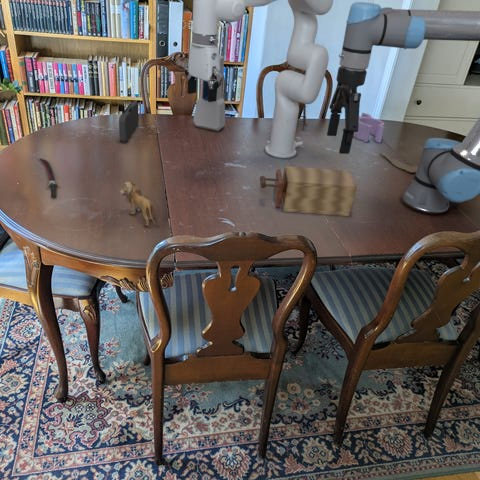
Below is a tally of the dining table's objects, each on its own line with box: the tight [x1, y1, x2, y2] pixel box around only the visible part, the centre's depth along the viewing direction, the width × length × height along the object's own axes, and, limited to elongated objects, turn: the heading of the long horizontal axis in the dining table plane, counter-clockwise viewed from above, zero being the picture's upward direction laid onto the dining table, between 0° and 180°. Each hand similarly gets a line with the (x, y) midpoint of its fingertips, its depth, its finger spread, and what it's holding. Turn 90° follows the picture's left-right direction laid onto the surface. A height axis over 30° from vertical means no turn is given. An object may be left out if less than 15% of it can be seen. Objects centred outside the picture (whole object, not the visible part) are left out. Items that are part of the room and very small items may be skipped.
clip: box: [353, 112, 386, 143], centre depth 214 cm, size 20×12×7 cm, turn 11°
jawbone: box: [380, 152, 419, 174], centre depth 187 cm, size 9×20×2 cm, turn 50°
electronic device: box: [193, 54, 226, 132], centre depth 196 cm, size 12×8×30 cm, turn 71°
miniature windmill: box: [294, 67, 307, 131], centre depth 208 cm, size 9×8×30 cm
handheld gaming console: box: [118, 101, 139, 143], centre depth 187 cm, size 23×3×10 cm, turn 178°
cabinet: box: [281, 165, 357, 217], centre depth 150 cm, size 21×11×10 cm, turn 91°
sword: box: [40, 158, 59, 198], centre depth 151 cm, size 31×3×1 cm, turn 26°
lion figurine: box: [119, 181, 159, 227], centre depth 134 cm, size 15×5×9 cm, turn 50°
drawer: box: [259, 168, 287, 208], centre depth 149 cm, size 25×10×8 cm, turn 91°
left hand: (201, 97), depth 148 cm, fingers open, 9 cm apart
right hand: (337, 144), depth 135 cm, fingers open, 13 cm apart
